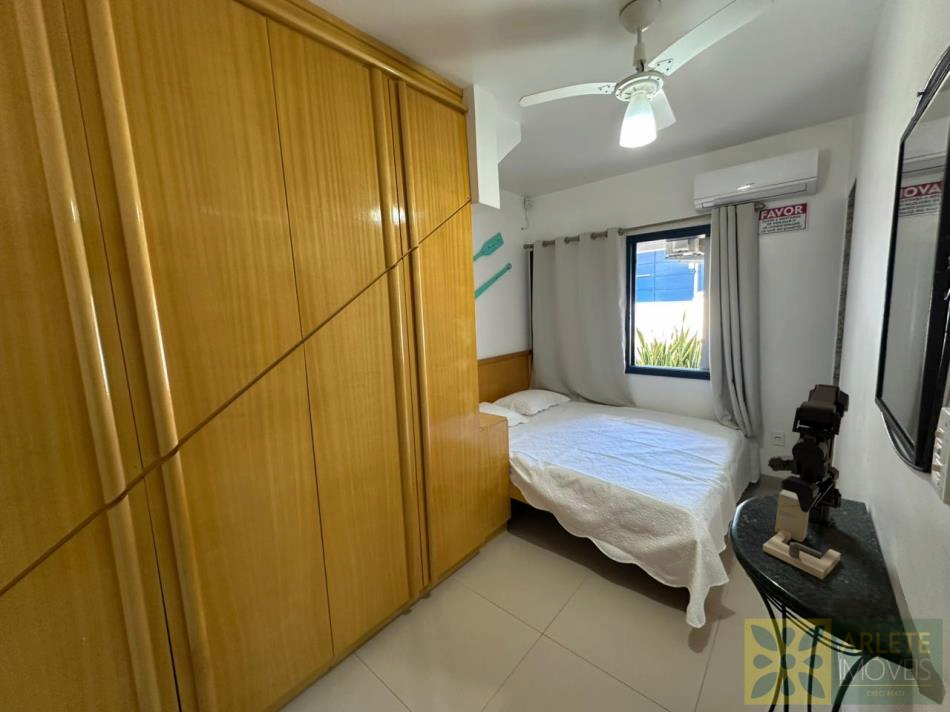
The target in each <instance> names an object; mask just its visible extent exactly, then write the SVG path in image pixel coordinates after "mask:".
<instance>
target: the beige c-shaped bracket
mask: <svg viewBox="0 0 950 712" xmlns="http://www.w3.org/2000/svg"><path fill="white" fill-rule="evenodd" d="M791 540H792V538H791V533H790V532H788V531H785V530H783V529H782V530H781V531H780V532H779V533H778V532H776V534H775V535H773V537H771V538H769V540H767V541H766V542H764V543H763V544H762V551H763V552H765V553H766V554H767V553H768V554H769V555H771V556H774V557H775V558H778V559H780V560H782V561H784V562H786V563H788V564H790V565H792V566H794V567H796V568H798V569H800V570H802V571H804V572H805V573H809V574H810V575H813V576H815V577H817V578H819V579H820V580H824V578H825V577H826V576H827V575H828V574H829V573H830V572H831V571H832V570H833V569H834V568H835V567H836V565H837V564H838V563H839V562H840V561H841V553H840V552H838V551H835V550H834V549H831V548H830V549H828V551H826V553H824V554H823V553H822V552H820V551H818V550H815V549H813V548H811V547H808V546H806V545H804V544H801V543H799V542H798V541H795V542H792V541H791ZM790 541H791V542H790ZM788 543H789V545H788ZM819 558H820V559H819Z"/></svg>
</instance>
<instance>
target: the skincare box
mask: <svg viewBox="0 0 950 712" xmlns="http://www.w3.org/2000/svg"><path fill="white" fill-rule="evenodd" d="M776 509H777V510H776V517H775V526H774V532H775V533H779V532H780V531H781V530H782V529H783V530H785V531H788V532H790V533H791V540H794V541H796V542H798V543H799V542H800V543H802V542H803V541H804V540H805V539H806V537H807V533H808V526H809V525H808V523H809V521H808V517H809V511H808V512H807V513H805V512H803V511H801V507H800V504H799V501H798V498H797V495H796V493H793V492H790V491H787V490H784V489H781V491H780V492H779V493H778V500H777V508H776Z"/></svg>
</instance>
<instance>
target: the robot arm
mask: <svg viewBox="0 0 950 712" xmlns="http://www.w3.org/2000/svg"><path fill="white" fill-rule="evenodd" d="M807 397H808V398H807V401H803V402H802V403H801V404H800V406H797V407H796V409H795V413H794V417H793V418H794V419H793V424H792V431H791V433H797V434H799V437H798V438H797V441H796V442H795V444H794V445H793V446H792V448H791V455H774V456H771V458H769V459H768V461H767V462H768V464H767V466H768V467H770V469H772V471H773V472H778V471H779V472H781V471H782V472H790V474H792V475H790V476H788V477H785V478H784V479H782V480H781V482H780V484H781V485H780V488H781V490H783V489H784V490H787V491H790V492H793V493H796V495H797V498H798V501H799V504H800V507H801V511H803V512H805V513H807V512H808V511H809V517H808V522H811V523H814V524H817V525H818V526H821V527H824V528H828V527H829V526H830V525H832V524H833V523H834V522H835V519H834V518H832V517H831V512H832V508H834V509H836V510H837V509H838V508H842V499H843V497H842V496H843V495H842V493H840V489H839V488H837V480H838V479H839V478H840V470H838V468H836V467H834V466H832V463H833V462H832V461H833V451H834V441H835V438H836V436H839V435H840V431H841V430H840V429H841V425H842V419H843V418H844V417H845V412H847V413H848V411H849V405H850V395H849V394H848V393H846V392H845V391H843V390H841V387H840V386H837V384H835V385H833V384H824V383H818V384H814V388H812V389H811V390H809V392H808V396H807Z"/></svg>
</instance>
